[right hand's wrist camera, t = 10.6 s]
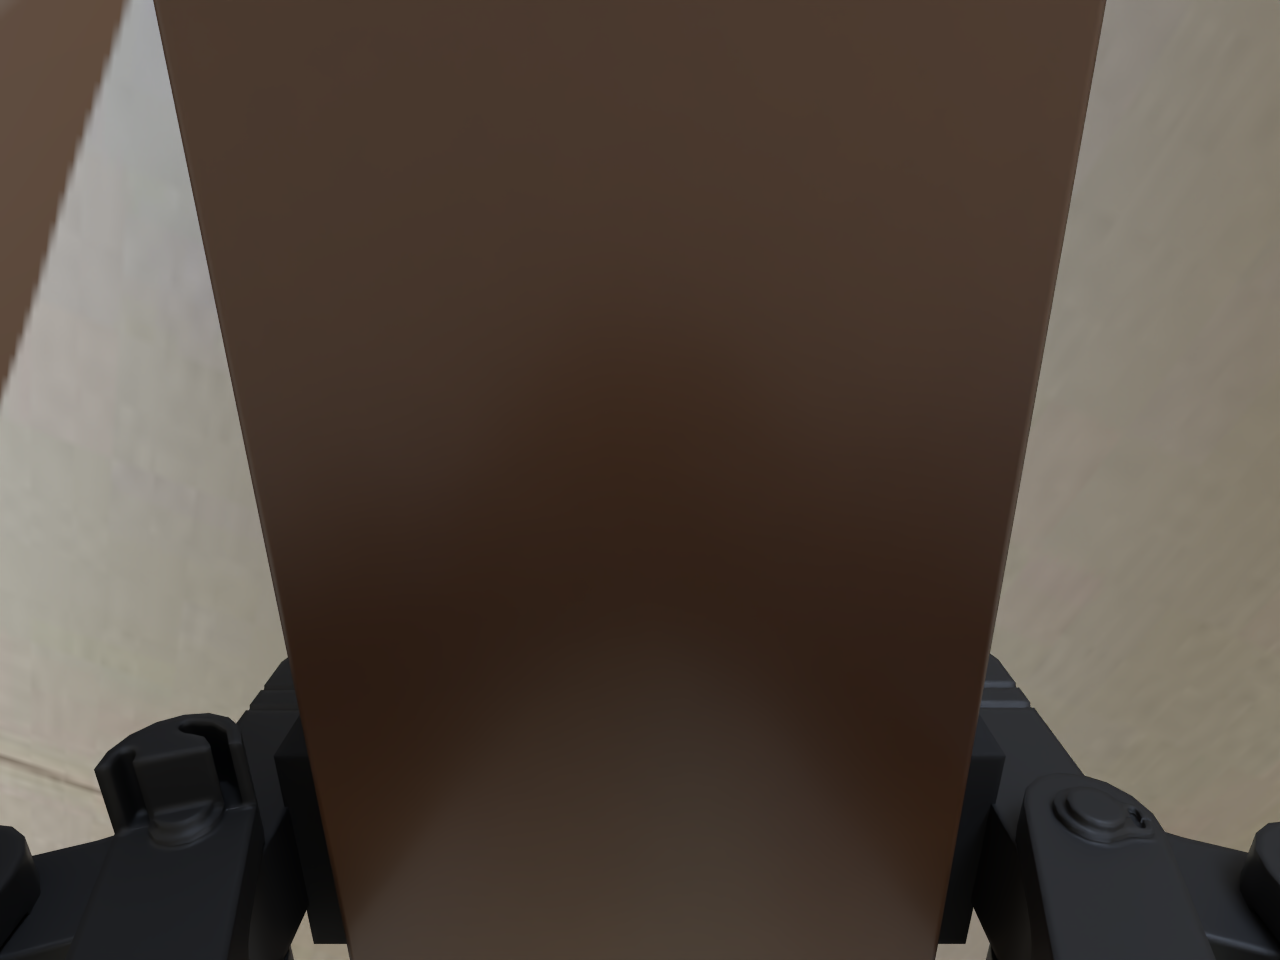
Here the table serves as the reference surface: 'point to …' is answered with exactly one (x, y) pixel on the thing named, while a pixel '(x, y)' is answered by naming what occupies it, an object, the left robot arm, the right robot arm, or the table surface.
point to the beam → (635, 441)
